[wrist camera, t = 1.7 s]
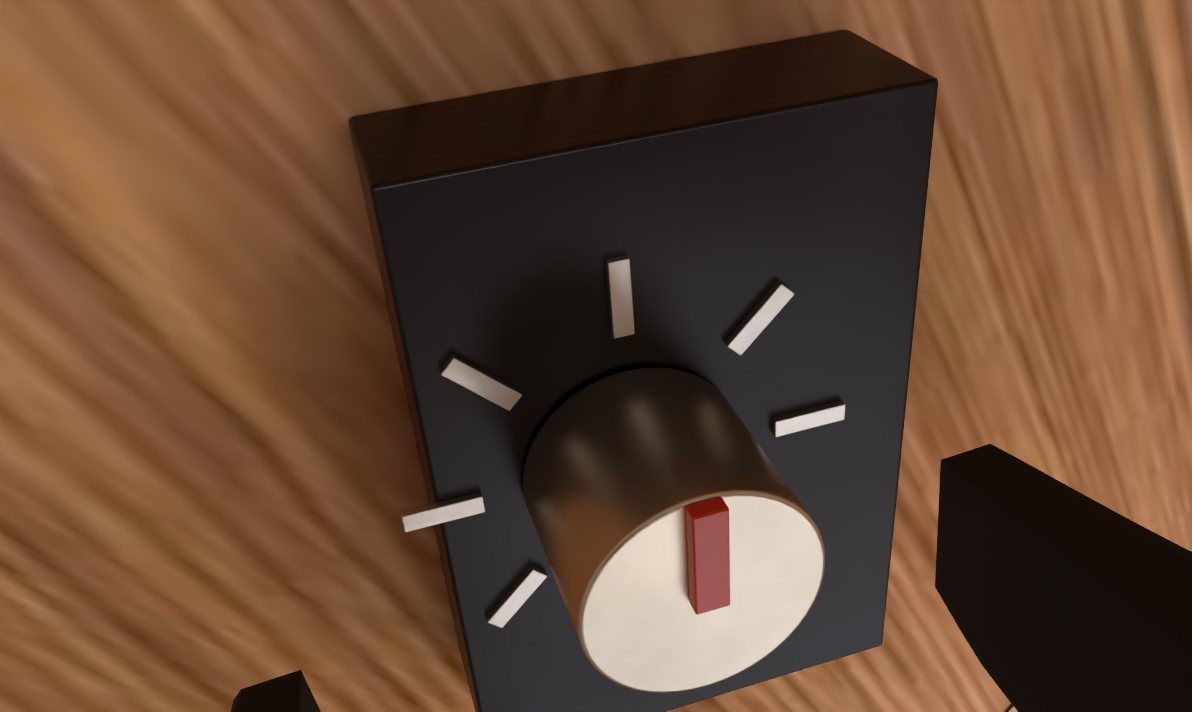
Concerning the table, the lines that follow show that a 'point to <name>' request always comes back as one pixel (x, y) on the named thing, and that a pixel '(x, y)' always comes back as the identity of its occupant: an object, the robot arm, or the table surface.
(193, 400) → the table surface
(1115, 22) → the table surface
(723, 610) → the knob
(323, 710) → the table surface
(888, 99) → the hob panel
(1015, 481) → the robot arm
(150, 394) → the table surface
